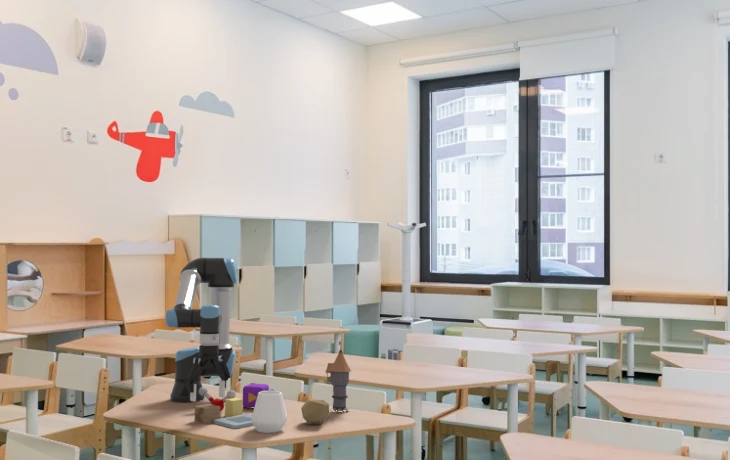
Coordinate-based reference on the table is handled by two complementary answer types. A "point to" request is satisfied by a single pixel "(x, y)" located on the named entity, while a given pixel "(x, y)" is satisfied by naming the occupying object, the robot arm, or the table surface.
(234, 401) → the mustard block
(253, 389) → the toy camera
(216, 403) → the molecular model
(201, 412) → the walnut block
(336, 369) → the model tower
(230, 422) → the plate
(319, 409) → the low-poly potato
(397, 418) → the table surface
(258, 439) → the table surface
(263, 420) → the white faceted vase
